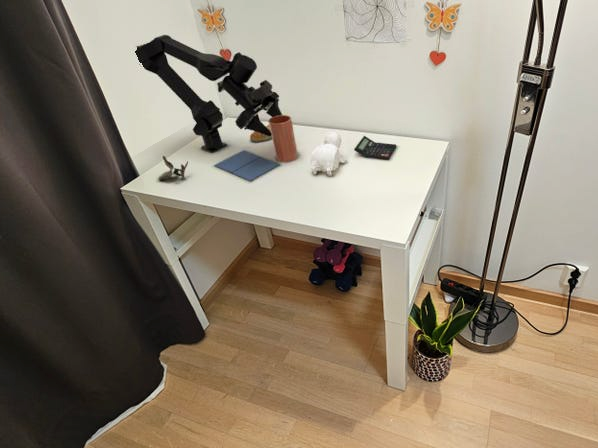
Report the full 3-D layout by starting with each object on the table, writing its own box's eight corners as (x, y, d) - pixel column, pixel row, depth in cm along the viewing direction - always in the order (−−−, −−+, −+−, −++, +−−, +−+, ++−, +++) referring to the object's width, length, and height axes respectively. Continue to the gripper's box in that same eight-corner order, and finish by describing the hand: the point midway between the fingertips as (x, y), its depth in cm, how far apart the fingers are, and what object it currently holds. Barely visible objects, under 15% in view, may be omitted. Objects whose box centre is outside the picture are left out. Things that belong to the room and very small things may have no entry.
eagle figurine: (193, 167, 127) (167, 160, 128) (183, 156, 120) (156, 150, 121) (184, 188, 125) (158, 182, 126) (174, 179, 118) (146, 172, 119)
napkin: (214, 166, 129) (214, 164, 129) (243, 151, 137) (243, 150, 136) (250, 181, 120) (250, 180, 120) (279, 164, 128) (279, 163, 127)
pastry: (255, 144, 140) (253, 134, 138) (247, 139, 145) (244, 129, 142) (279, 136, 145) (277, 126, 142) (270, 131, 149) (268, 121, 147)
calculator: (388, 160, 126) (388, 151, 125) (354, 156, 130) (353, 147, 128) (396, 146, 133) (396, 138, 132) (363, 143, 137) (363, 135, 135)
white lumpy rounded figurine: (338, 183, 123) (351, 146, 130) (331, 165, 116) (345, 127, 123) (312, 179, 125) (326, 144, 132) (304, 162, 118) (320, 125, 125)
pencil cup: (275, 162, 129) (267, 125, 121) (277, 152, 135) (269, 116, 127) (297, 160, 129) (290, 122, 121) (298, 150, 135) (291, 114, 127)
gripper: (234, 85, 111) (276, 126, 115) (268, 65, 125) (305, 102, 129) (218, 110, 118) (258, 147, 122) (252, 88, 132) (287, 123, 136)
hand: (278, 129), depth 127 cm, fingers open, 9 cm apart
